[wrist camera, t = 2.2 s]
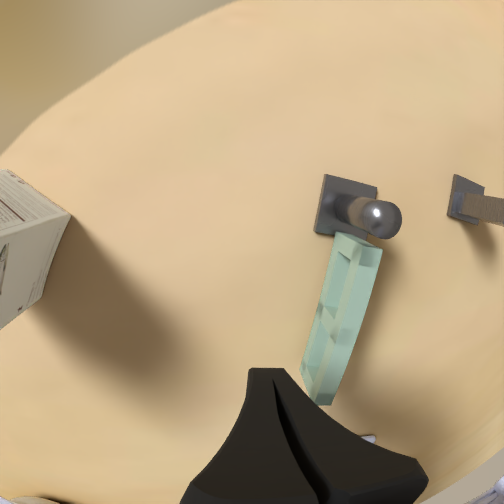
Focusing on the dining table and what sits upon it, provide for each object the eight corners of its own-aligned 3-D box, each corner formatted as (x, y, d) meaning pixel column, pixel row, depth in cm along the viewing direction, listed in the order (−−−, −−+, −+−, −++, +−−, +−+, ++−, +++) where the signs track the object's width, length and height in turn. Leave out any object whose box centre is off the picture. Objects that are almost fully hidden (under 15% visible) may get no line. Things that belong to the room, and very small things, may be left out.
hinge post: (363, 240, 19) (406, 262, 14) (313, 230, 19) (345, 251, 14) (374, 186, 19) (422, 192, 13) (324, 174, 18) (361, 174, 13)
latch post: (474, 224, 20) (522, 238, 15) (446, 214, 20) (496, 227, 14) (481, 187, 19) (529, 194, 14) (453, 174, 19) (504, 178, 14)
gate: (336, 231, 18) (363, 245, 14) (353, 234, 18) (382, 249, 15) (299, 369, 21) (312, 405, 17) (315, 370, 21) (330, 405, 17)
